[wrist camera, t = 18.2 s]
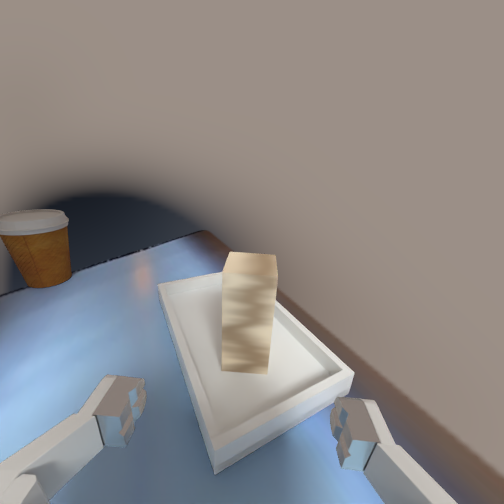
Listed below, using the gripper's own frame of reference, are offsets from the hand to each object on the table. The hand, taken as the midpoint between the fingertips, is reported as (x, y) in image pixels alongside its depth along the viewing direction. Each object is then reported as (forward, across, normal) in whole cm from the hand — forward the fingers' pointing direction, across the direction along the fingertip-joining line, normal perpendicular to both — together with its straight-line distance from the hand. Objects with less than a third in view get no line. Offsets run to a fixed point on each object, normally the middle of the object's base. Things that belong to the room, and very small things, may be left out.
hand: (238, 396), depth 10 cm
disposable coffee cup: (+29, +37, +15) cm, 49 cm away
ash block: (+14, 0, +12) cm, 19 cm away
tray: (+18, +2, +14) cm, 23 cm away
